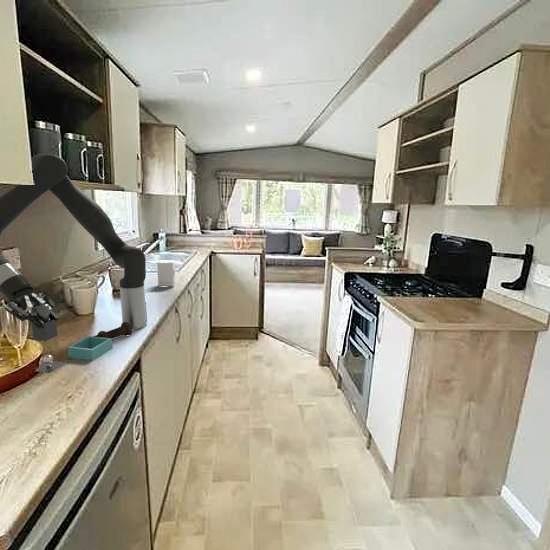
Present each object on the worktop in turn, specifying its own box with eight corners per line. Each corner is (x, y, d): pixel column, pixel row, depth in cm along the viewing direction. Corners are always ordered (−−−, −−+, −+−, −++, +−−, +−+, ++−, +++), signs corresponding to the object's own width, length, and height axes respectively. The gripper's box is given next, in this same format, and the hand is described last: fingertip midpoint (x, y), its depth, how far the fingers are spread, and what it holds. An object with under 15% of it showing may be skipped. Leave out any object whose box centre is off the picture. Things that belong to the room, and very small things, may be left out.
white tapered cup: (173, 287, 218) (172, 262, 215) (158, 287, 217) (156, 262, 213) (175, 283, 227) (174, 259, 224) (160, 284, 225) (159, 260, 222)
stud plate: (48, 364, 118) (46, 349, 117) (67, 367, 116) (66, 351, 115) (30, 375, 111) (28, 358, 110) (50, 377, 110) (48, 361, 109)
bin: (90, 349, 130) (89, 336, 129) (113, 352, 128) (111, 338, 127) (69, 361, 120) (67, 347, 119) (93, 364, 118) (92, 350, 117)
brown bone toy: (91, 350, 133) (128, 337, 145) (97, 347, 130) (134, 333, 142) (85, 336, 134) (122, 323, 146) (91, 332, 131) (128, 319, 143)
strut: (45, 334, 114) (41, 302, 112) (57, 335, 113) (53, 303, 111) (33, 339, 110) (28, 306, 108) (46, 340, 109) (41, 307, 107)
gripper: (-7, 279, 102) (36, 324, 102) (36, 269, 116) (73, 309, 116) (-20, 296, 104) (22, 340, 104) (24, 284, 118) (61, 323, 118)
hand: (49, 323), depth 110 cm, fingers closed on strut, 4 cm apart
